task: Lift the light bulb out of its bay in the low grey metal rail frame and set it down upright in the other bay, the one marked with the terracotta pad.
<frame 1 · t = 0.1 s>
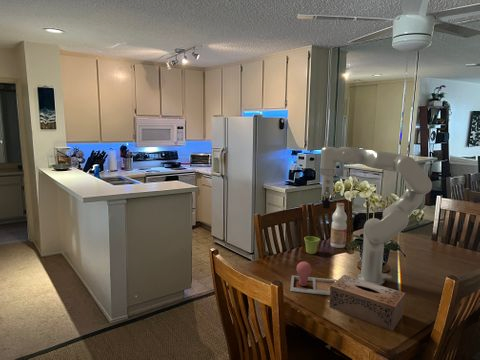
hand: (325, 206, 170), 37 cm above the table, tool pointing down, fingers open, 9 cm apart
light bulb: (303, 286, 164), resting in rail frame
rail frame: (314, 286, 163), on the table
fruit juice: (337, 246, 221), on the table
tissue box cover: (365, 312, 143), on the table
plant pot: (311, 252, 208), on the table
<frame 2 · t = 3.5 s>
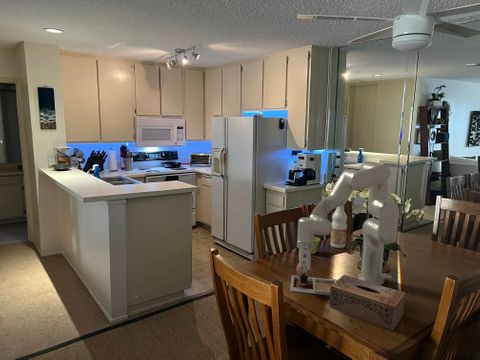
hand: (303, 279, 164), 3 cm above the table, tool pointing down, fingers closed on light bulb, 6 cm apart
light bulb: (303, 286, 164), resting in rail frame, touching gripper
everything else where it was.
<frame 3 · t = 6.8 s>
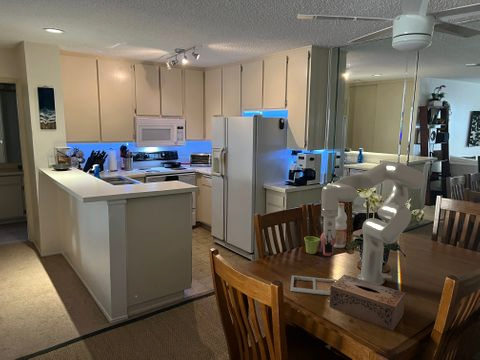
hand: (327, 249, 160), 19 cm above the table, tool pointing down, fingers closed on light bulb, 6 cm apart
light bulb: (327, 256, 160), point 16 cm above the table, touching gripper
everything else where it was.
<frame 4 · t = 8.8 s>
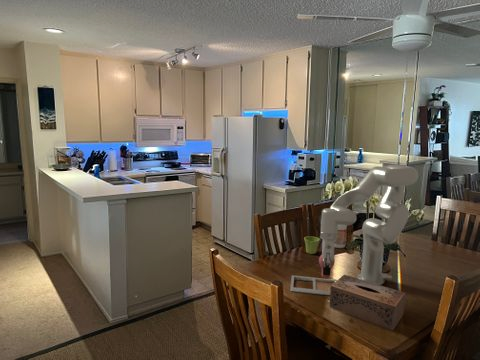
hand: (326, 271, 161), 8 cm above the table, tool pointing down, fingers closed on light bulb, 6 cm apart
light bulb: (325, 278, 162), point 5 cm above the table, touching gripper
everything else where it was.
when the fingers open (5 cm above the table, at t = 10.5 s): light bulb drops 1 cm, resting on rail frame.
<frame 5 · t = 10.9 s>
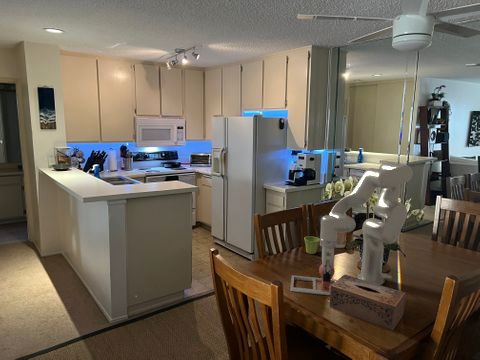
hand: (326, 276, 162), 6 cm above the table, tool pointing down, fingers open, 9 cm apart
light bulb: (325, 287, 163), resting on rail frame
everything else where it was.
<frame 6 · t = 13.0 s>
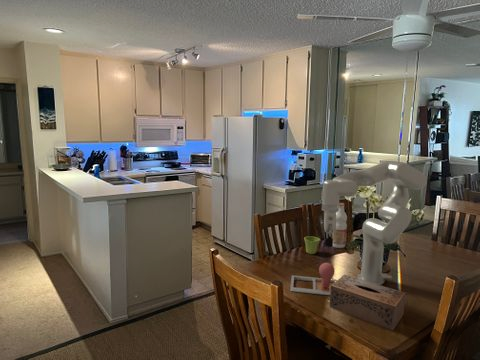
hand: (328, 242, 159), 22 cm above the table, tool pointing down, fingers open, 9 cm apart
nothing on the table moved.
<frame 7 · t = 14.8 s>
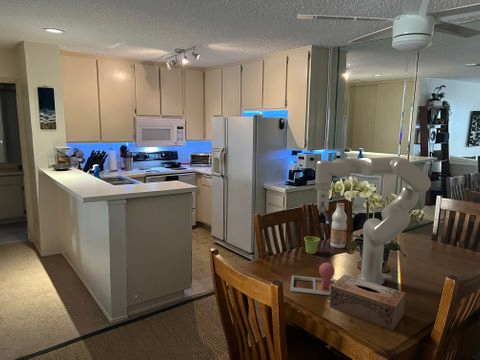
hand: (321, 220, 168), 30 cm above the table, tool pointing down, fingers open, 9 cm apart
nothing on the table moved.
at the end: light bulb inside the target area on the rail frame (0.3 cm from its centre), point 0.1 cm above the rail frame's base; light bulb tilted 0°; the gripper is holding nothing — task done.
